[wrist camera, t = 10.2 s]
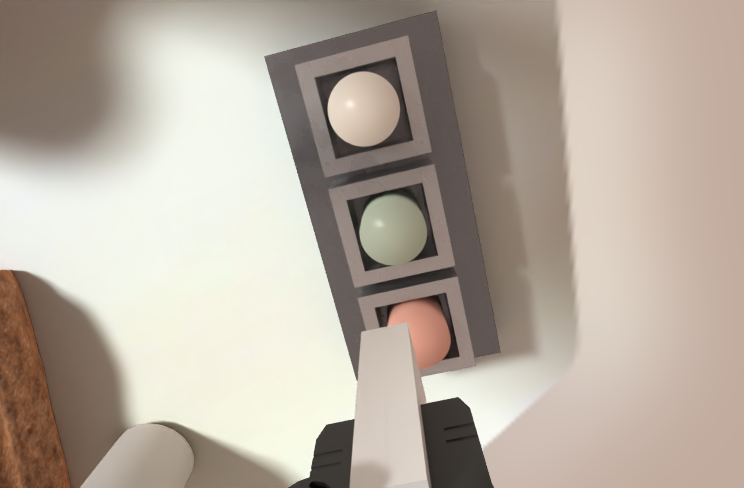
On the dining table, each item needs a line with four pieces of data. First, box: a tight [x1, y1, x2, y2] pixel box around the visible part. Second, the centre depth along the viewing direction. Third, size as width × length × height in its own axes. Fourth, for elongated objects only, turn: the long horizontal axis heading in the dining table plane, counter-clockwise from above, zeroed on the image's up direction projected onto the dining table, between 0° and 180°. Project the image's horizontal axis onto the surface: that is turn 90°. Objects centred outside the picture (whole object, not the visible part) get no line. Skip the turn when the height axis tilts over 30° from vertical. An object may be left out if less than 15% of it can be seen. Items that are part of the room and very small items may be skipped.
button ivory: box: [328, 72, 400, 147], centre depth 32 cm, size 4×4×4 cm
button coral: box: [387, 295, 451, 369], centre depth 36 cm, size 4×4×4 cm
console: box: [264, 11, 500, 381], centre depth 36 cm, size 26×12×6 cm, turn 14°
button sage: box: [360, 189, 427, 265], centre depth 34 cm, size 4×4×4 cm
